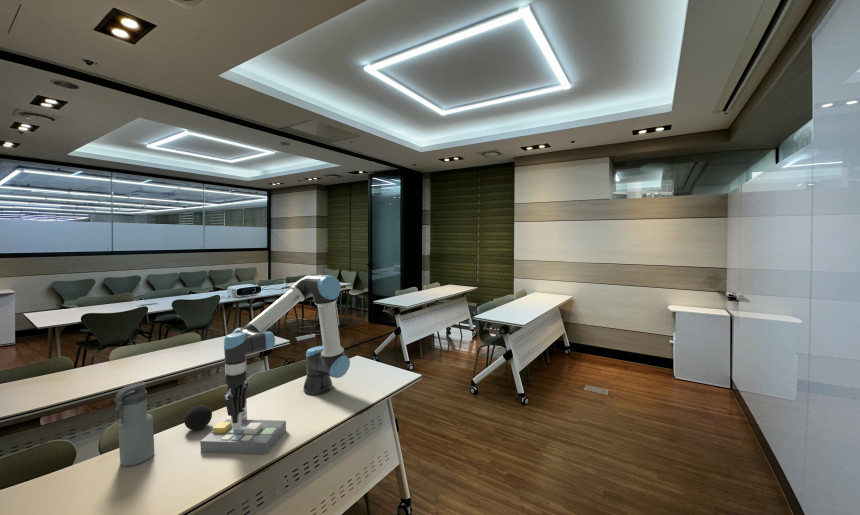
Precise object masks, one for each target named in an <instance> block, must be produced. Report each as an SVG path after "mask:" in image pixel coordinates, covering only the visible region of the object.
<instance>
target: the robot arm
mask: <svg viewBox="0 0 860 515" xmlns="http://www.w3.org/2000/svg"><path fill="white" fill-rule="evenodd" d="M341 290H342V286H341V282H340V280H339V279H338V278H337V277H336V276H333V275H329V274H319V273H311V274H307V275H305V276H304V277H301V278H300V279H299V280H297V281H296V282H294V283H293V284H292V285H291V286H290V287H289V289H288V291H286V292H284V294H283V295H281V296H280V297H279V298H278V299H276V300H275V301H274V302H273V303H272V304H270V305H269V306H268V307H267V308H265V309H264V310H263V311H262V312H260V313H259V314H258V315H257V316H255V318H253V319H252V320H251V321H249V322H248V323H247V324H246V325H245V326H244V327H238V328H236V329H234V330H233V331H232V333H229V334H227V335H226V336H225V337H224V338H223V339H224V341H223V350H224V352H223V353H224V373H225V375H224V382H225V384H226V385H227V393H226V394H224V395H223V397H222V398H223V400H224V402H225V407H226V412H227V416H229V417H231V416H232V422H233V430H240V429H241V428H242V423H241V417H242V416H241V412H244V410H243V408H245V402H246V401H247V393H248V392H247V390H248V387H249V383H248V382H246V380H248V379H247V371H246V370H247V355H252V354H256V353H259V352H264V351H267V350H271V349H272V348H274V347H275V344H276V336H275V335H274V333H273V332H272V331H267V330H268V329H269V328H271V326H273V325H274V324H275V323H276V322H277V321H278V320H279V319H281V318H282V317H283V316H284V315H285V314H286V313H288V312H289V311H290V310H291V309H292V308H294V307H295V306H297V304H298V303H299V302H304V301H305V300H306V299H307V298H310V297H312V300H313V303H314V305H316V306H317V310H318V311H317V312H318V319H319V325H320V326H319V327H320V333H321V340H322V345H318V346H314V347H311V348H308V349H307V350H306V351H305V353H306V354H305V361H306V364H305V366H306V367H305V368H306V378H305V380H304V384H303V393H304V394H306V395H310V396H318V395H323V394H325V393H328V392H330V391H331V390H332V389H333V382H332V378H335V379H339V378H340V379H341V378H342V377H343V376H346V374H347V372H348V370H349V368H350V366H351V360H350V358H349V357H348V356H347V355H345V349H344V347H342V346H341V341H340V339H341V338H340V331H339V326H338V325H339V324H338V323H339V322H338V317H337V309H336V303H337V301H338V300H339V299H338V297H339V296H340V293H341ZM243 388H244V389H243ZM242 404H243V405H242Z"/></svg>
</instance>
